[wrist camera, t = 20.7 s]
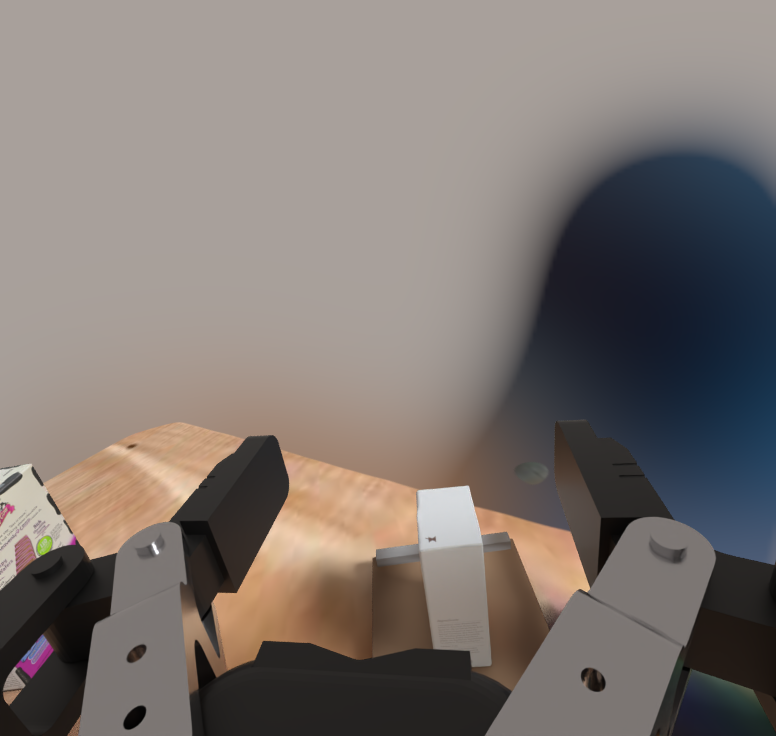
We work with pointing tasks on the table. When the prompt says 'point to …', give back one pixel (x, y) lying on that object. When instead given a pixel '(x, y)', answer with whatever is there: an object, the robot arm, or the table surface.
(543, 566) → the table surface
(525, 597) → the walnut riser
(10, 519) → the candy bar box
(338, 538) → the table surface
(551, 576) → the table surface
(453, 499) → the skincare box
